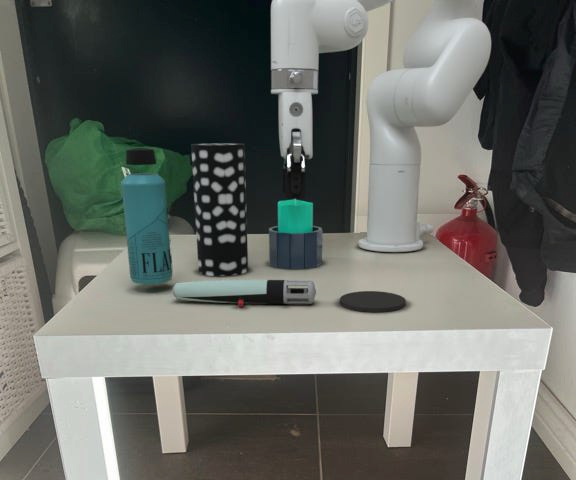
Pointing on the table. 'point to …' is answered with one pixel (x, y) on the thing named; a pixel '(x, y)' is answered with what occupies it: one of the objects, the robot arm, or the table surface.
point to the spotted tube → (220, 208)
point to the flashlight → (246, 291)
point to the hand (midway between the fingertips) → (293, 195)
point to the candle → (295, 216)
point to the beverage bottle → (146, 221)
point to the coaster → (372, 301)
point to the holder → (295, 249)
